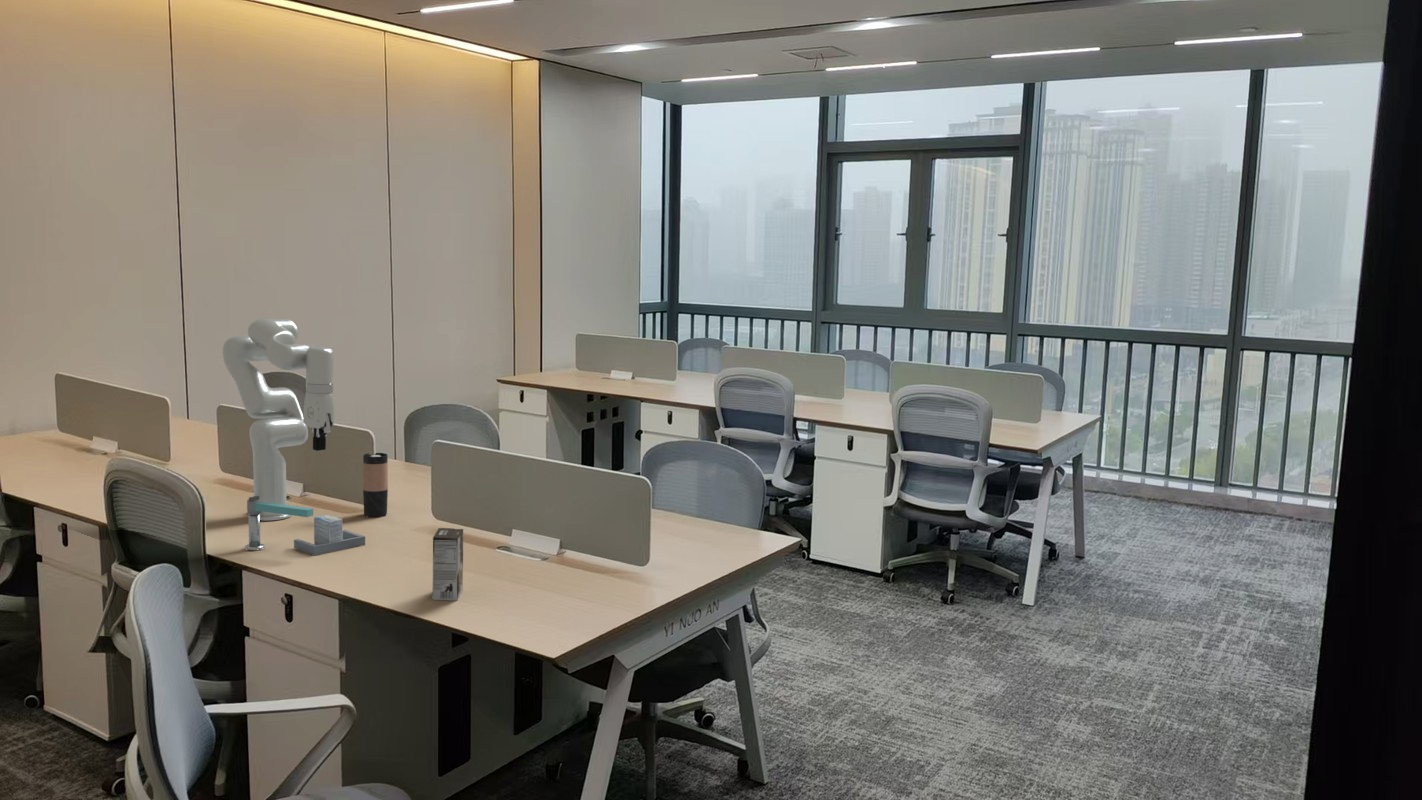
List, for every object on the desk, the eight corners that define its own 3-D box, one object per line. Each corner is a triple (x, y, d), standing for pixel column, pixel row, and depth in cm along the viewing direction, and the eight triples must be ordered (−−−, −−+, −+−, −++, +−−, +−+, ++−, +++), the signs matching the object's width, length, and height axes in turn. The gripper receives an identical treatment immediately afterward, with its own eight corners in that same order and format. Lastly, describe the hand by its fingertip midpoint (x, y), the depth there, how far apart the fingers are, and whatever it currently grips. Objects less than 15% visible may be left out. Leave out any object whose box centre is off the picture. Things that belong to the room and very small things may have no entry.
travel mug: (380, 518, 330) (380, 457, 327) (358, 516, 331) (358, 455, 329) (392, 513, 337) (392, 453, 335) (370, 511, 339) (370, 451, 336)
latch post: (241, 548, 290) (241, 514, 289) (258, 545, 294) (258, 511, 293) (250, 551, 287) (250, 517, 286) (267, 548, 291) (267, 514, 290)
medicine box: (343, 548, 294) (343, 519, 293) (329, 551, 291) (329, 521, 290) (327, 543, 299) (327, 514, 298) (313, 546, 296) (313, 516, 294)
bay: (294, 548, 292) (294, 539, 292) (344, 537, 305) (344, 529, 305) (314, 555, 286) (314, 546, 286) (365, 544, 299) (365, 536, 299)
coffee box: (438, 589, 261) (438, 527, 259) (463, 589, 262) (464, 528, 260) (431, 600, 252) (431, 536, 250) (457, 600, 253) (458, 537, 251)
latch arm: (253, 511, 291) (253, 494, 291) (314, 519, 285) (314, 502, 285) (244, 513, 288) (244, 497, 287) (305, 522, 282) (305, 505, 281)
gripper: (294, 386, 304) (294, 446, 307) (320, 393, 295) (320, 455, 297) (318, 385, 310) (318, 444, 313) (344, 391, 301) (344, 452, 303)
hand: (319, 449), depth 305 cm, fingers closed
